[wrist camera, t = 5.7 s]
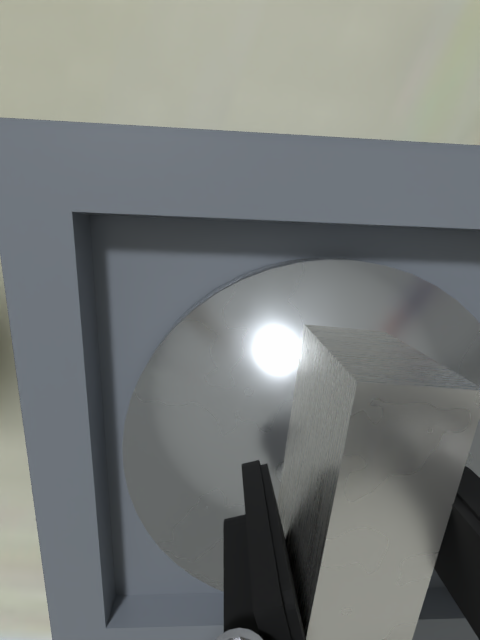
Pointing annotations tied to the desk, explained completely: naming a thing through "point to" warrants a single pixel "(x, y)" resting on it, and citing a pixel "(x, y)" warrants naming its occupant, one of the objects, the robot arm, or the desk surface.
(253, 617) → the robot arm
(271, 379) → the dial
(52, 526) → the dial housing
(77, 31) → the desk surface
